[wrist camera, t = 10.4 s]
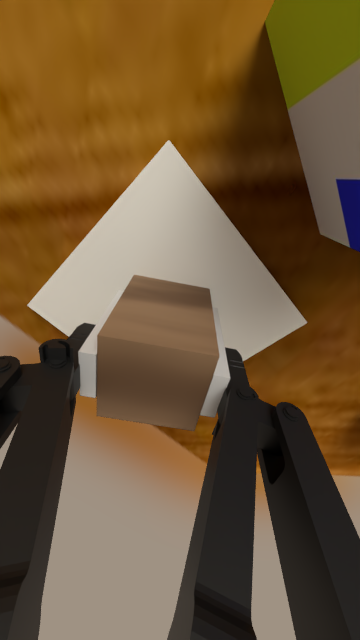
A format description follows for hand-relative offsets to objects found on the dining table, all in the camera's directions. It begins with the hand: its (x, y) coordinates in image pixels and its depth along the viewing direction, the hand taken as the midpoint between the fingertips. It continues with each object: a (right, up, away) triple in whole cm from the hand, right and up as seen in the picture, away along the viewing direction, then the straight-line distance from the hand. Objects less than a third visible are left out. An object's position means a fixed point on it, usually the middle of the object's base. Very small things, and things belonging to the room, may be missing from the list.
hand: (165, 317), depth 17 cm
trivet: (0, +1, +1) cm, 1 cm away
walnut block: (0, 0, 0) cm, 0 cm away
